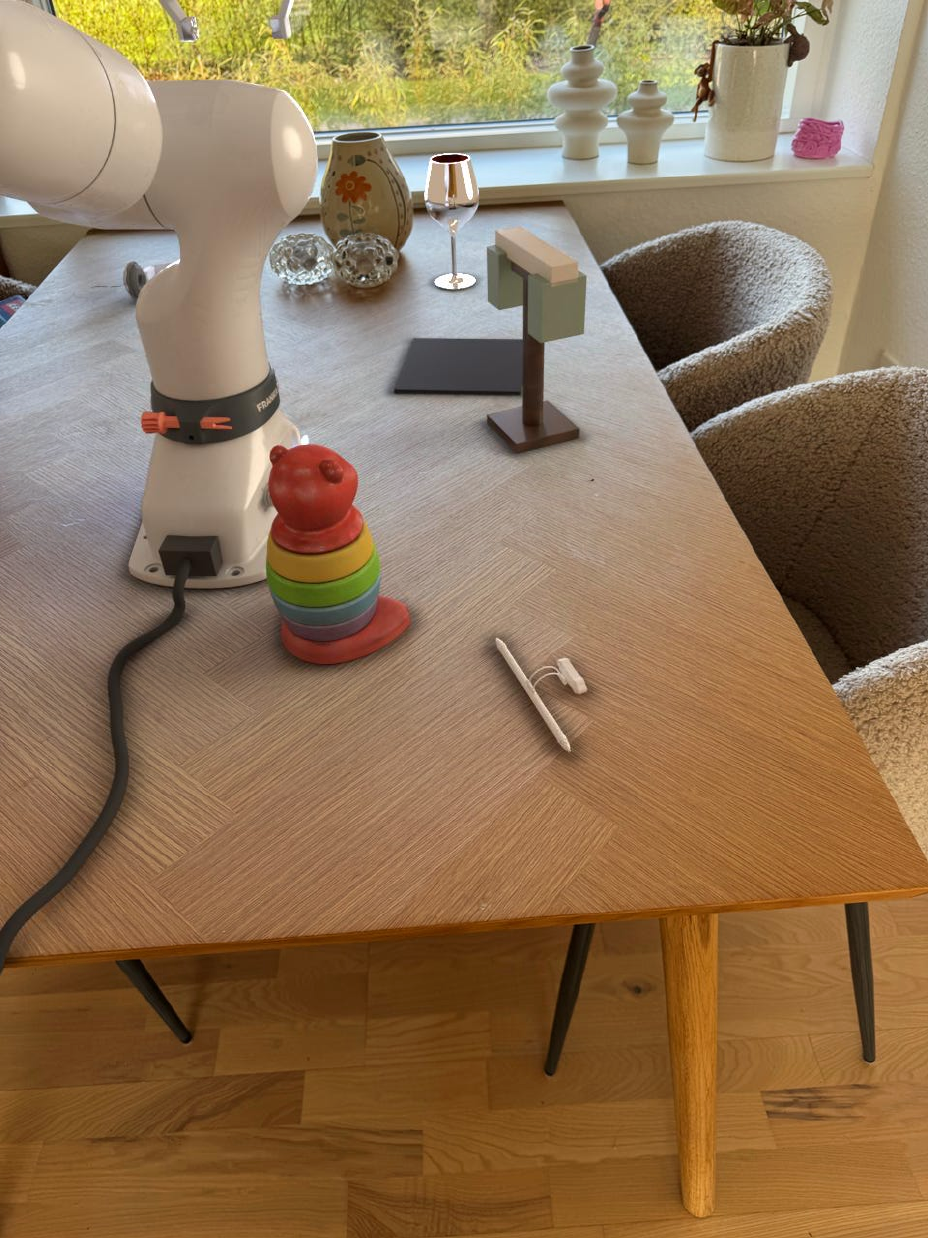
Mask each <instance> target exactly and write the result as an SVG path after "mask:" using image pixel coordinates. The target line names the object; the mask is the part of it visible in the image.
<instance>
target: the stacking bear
mask: <svg viewBox="0 0 928 1238" xmlns="http://www.w3.org/2000/svg"><path fill="white" fill-rule="evenodd" d="M269 458H270V462H271V463H272V469H271V471H270V474H269V480H268V489H269V494H270V498H271V500H272V503H273V505H274V507H275V509H276V511H277V512H278V514H277V515H276V517H275V518H274V520H273V522H272V525H271V530H270V532H269V535H268V541H267V557H266V577H267V578H266V582H267V586H268V591H269V593H270V597H271V599H272V601H273V603H274V605H275V607H276V609H277V612H278V614H279V615H280V616H279V617H281V619H282V621H281V629H280V630H281V631H280V634H281V640H282V643H283V645H284V647H285V649H287V651H288V652H289V653H290V654H291V655H293V656H294V657H296V658H298V659H300V660H301V661H305V662H308V663H312V664H319V665H334V664H340V663H345V662H349V661H353V660H357V659H359V658H362V657H365V656H367V655H369V654H372V653H374V652H376V651H378V650H380V649H382V648H384V647H385V646H387V645H389V644H390V643H392V642H393V641H394V640H396V639H397V638H398V637H399V636H400V635H401V634H402V633H404V631H406V630H407V628H408V627H409V625H410V624H411V617H410V612H409V609H408V606H407V605H406V604H405V603H404V602H401V601H399V600H397V599H396V598H393V597H388V596H382V595H379V594H380V591H381V590H380V589H381V578H382V577H381V574H382V572H381V571H382V570H381V562H380V556H379V552H378V549H377V547H376V546H377V545H376V544H375V542H374V539H373V536H372V533H371V531H370V529H369V527H368V523H367V522H366V520H365V519H364V516H363V514H362V513H361V511H360V510H359V509H358V508H357V507H356V506H355V505H354V504H353V503H354V501H355V498H356V495H357V491H358V487H359V486H358V485H359V476H358V471H357V470H356V468H355V467H354V465H353V464H352V463H351V462H348V460H346V459H345V458H344V457H343V456H342V455H340V454H339V453H338V452H336V451H335V450H333V449H331V448H329V447H327V446H324V445H321V444H314V443H308V444H304V445H299V446H295V447H293V448H291V449H289V450H288V449H286V448H285V447H284V446H281V445H277V446H274V447H273V448H272V450H271V451H270V455H269Z"/></svg>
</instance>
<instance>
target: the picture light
mask: <svg viewBox="0 0 928 1238" xmlns="http://www.w3.org/2000/svg"><path fill="white" fill-rule="evenodd" d="M494 639H495V646H496V647H497V650H498V651H499V652H500V654H501V655H502V657H503V658H504V660H505V661H506V663H507V664H508V666H509V667H510V669H511V671H512V672H513V674H514V675H515V677H516V678H517V680H518V682H519V683H520V685H521V686H522V688H523V689H524V691H525V692H526V694H527V695H528V697H529V698H530V700H531V702H532V703H533V705H534V706H535V708H536V709H537V711H538V713H539V714H540V716H541V717H542V719H543V720H544V722H545V724H546V725H547V726H548V728H549V729H550V732H551V733H552V734H553V736H554V737H555V739H556V741H557V743H558V744H559V746H561V748H562V749H564V750H565V751H567V752H568V753H570V752H571V751H572V750H571V745H570V742H569V739H568V738H567V736H566V735H565V734H564V732H563V731H562V729H561V728H560V726H559V725H558V723H557V722H556V720H555V719H554V717H553V716H552V714H551V712H550V711H549V710H548V708H547V707H546V705H545V704H544V702H543V701H542V699H541V697H540V696H539V694H538V693H537V691H536V689H535V687H536V686H537V684H538V683H539V682H540V681H541V680H543V678H545V677H548V676H551V675H557V677H558V678H559V680H560V682H561V683H562V685H563V686H567V685H568V686H569V687H571V689H572V691H573V692H574V693H575V694H577V695H581V694H584V693H588V688H587V685H586V682H585V680H584V678H583V677H582V676H581V675H580V674H579V672H578V671H577V669H576V668H575V667H574V665H573V664H572V662H571V661H570V659H569V658H568V657H567V658H566V657H562V658H559V659H556V665H557V667H558V668H557V667H555V666H551V665H547V666H546V665H545V666H542V667H540V668H538V669H537V670H535V671H534V672H533V673H531V675H530V676H529V678H527V676H526V674H525V673H524V672H523V670H522V669H521V667H520V666H519V664H518V663H517V661H516V659H515V657H514V656H513V655H512V654H511V652H510V650H509V649H508V647H507V645H506V644H505V642H503V640H501V639H500V638H498V637H495V638H494ZM544 669H554V670H555V671H556V672H549V673H546V674H544V675H542V676H540V678H538V679H537V680H536V681H535V683H534V684H532V683H531V680H532V679H533V677H534V676H535V675H536V674H537V673H538V672H539V671H542V670H544Z"/></svg>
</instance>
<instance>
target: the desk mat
mask: <svg viewBox="0 0 928 1238" xmlns="http://www.w3.org/2000/svg"><path fill="white" fill-rule="evenodd" d="M522 369H523V338H522V339H518V338H517V339H515V338H514V339H513V338H511V339H510V338H435V337H432V338H431V337H413V339H412V341H411V343H410V346H409V349H408V352H407V354H406V357H405V359H404V361H403V365H402V368H401V369H400V372H399V375H398V377H397V379H396V383H395V385H394V388H393V393H394V394H429V395H430V394H433V395H437V394H438V395H486V396H487V395H489V396H490V395H491V396H522Z"/></svg>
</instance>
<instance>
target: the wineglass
mask: <svg viewBox="0 0 928 1238" xmlns="http://www.w3.org/2000/svg"><path fill="white" fill-rule="evenodd" d="M428 165H429V166H428V170H427V176H426V181H425V188H424V199H423V200H424V205H425V208H426V211H427V213H428V214H429V215H430V217H431V218H432V219H433V220H434V221H435V222H437V224H439V225H440V226H441V227H442V228H443V229H445V231H446V232H448V234H449V236H450V244H451V245H450V247H451V248H450V249H451V250H450V251H451V273H449V274H445V275H442V276H439V277H438V278H436V279H435V281H434V284H435V286H436V287H437V288H439V289H442V290H449V291H450V290H451V291H455V290H463V289H467V288H470V287H473V286H474V285H475V283H476V279H475V277H474V276H472V275H469V274H463V273H459V270H458V256H457V255H458V253H457V251H458V250H457V236H458V234H459V231H460V230H461V229H462V228H463V227H464V226H465V225H466V224H467V223H468V222H469V221H470V220H471V219H472V217H473V216H474V215H475V213H476V211H477V210H478V207H479V204H480V193H479V192H480V191H479V187H478V183H477V179H476V175H475V171H474V168H473V164H472V161H471V157H470V156H469V155H467V154H464V153H443V154H437V155H434V156H432V157H431V158H430V161H429V164H428Z"/></svg>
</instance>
